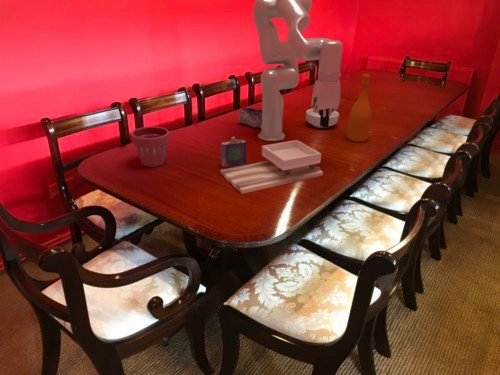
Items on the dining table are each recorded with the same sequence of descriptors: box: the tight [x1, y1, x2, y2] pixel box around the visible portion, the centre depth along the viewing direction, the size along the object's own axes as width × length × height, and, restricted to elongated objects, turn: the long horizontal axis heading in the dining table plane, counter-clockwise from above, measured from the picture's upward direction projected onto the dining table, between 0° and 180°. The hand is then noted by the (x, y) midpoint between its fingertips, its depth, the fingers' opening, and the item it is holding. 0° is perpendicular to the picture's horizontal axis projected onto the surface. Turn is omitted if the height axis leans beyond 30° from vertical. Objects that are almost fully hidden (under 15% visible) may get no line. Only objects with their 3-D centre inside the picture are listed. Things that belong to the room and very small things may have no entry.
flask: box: [220, 136, 247, 168], centre depth 150 cm, size 10×3×12 cm, turn 109°
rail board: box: [220, 160, 324, 195], centre depth 144 cm, size 18×34×2 cm, turn 117°
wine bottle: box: [346, 73, 372, 143], centre depth 174 cm, size 10×10×30 cm
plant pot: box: [130, 126, 170, 168], centre depth 151 cm, size 14×14×13 cm
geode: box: [237, 106, 262, 129], centre depth 196 cm, size 20×12×10 cm, turn 55°
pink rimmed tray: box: [261, 139, 322, 174], centre depth 145 cm, size 16×16×6 cm
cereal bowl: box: [305, 108, 340, 129], centre depth 197 cm, size 17×17×7 cm
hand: (324, 126), depth 146 cm, fingers closed
